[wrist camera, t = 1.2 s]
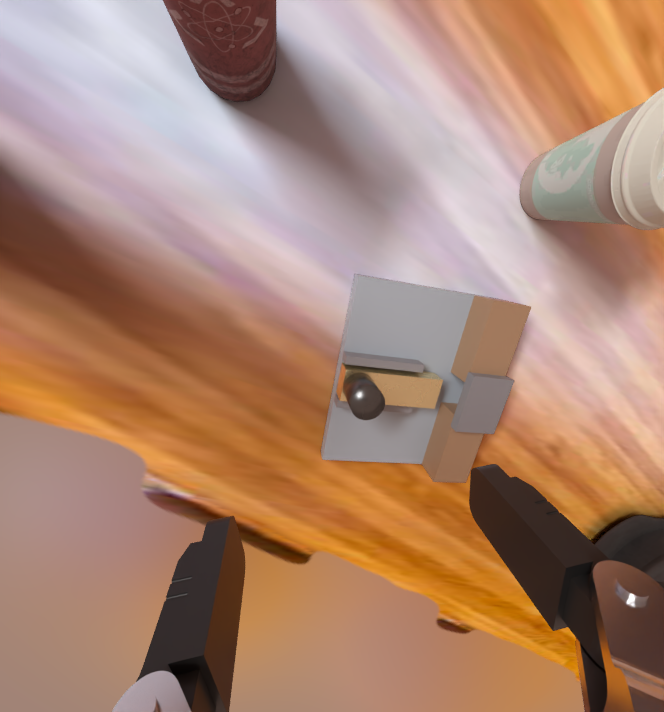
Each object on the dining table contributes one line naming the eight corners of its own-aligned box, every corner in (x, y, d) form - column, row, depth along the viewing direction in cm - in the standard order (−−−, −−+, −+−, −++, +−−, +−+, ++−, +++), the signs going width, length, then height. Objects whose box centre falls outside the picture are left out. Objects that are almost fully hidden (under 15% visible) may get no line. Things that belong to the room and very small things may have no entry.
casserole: (548, 563, 50) (598, 621, 42) (639, 482, 47) (711, 529, 39) (620, 607, 58) (673, 663, 51) (701, 540, 55) (771, 589, 47)
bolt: (336, 391, 32) (347, 420, 26) (341, 362, 31) (354, 385, 26) (425, 399, 34) (452, 427, 29) (433, 372, 33) (462, 396, 28)
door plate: (320, 451, 36) (327, 485, 31) (354, 273, 30) (370, 280, 25) (447, 457, 39) (472, 489, 34) (500, 299, 33) (541, 309, 28)
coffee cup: (572, 112, 28) (766, 25, 17) (596, 199, 31) (774, 175, 20) (491, 172, 29) (628, 125, 17) (524, 252, 32) (657, 256, 21)
